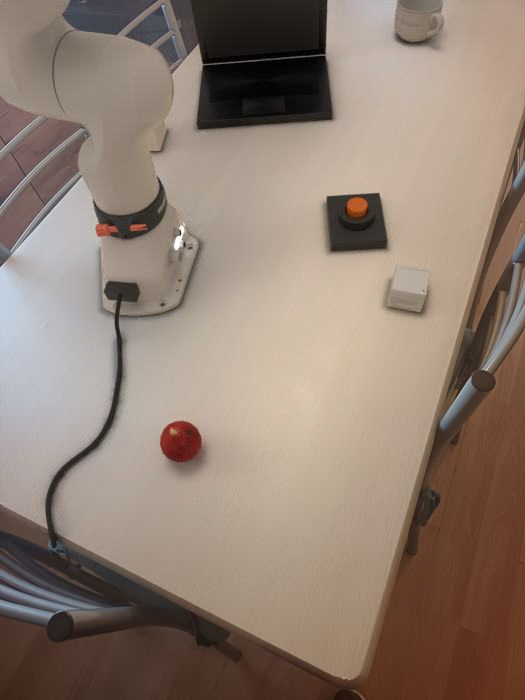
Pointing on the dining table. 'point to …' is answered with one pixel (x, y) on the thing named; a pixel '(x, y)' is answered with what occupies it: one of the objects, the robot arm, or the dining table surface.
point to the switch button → (357, 208)
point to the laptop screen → (259, 29)
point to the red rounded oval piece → (180, 441)
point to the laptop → (264, 92)
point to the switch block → (355, 224)
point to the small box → (408, 288)
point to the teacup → (418, 19)
